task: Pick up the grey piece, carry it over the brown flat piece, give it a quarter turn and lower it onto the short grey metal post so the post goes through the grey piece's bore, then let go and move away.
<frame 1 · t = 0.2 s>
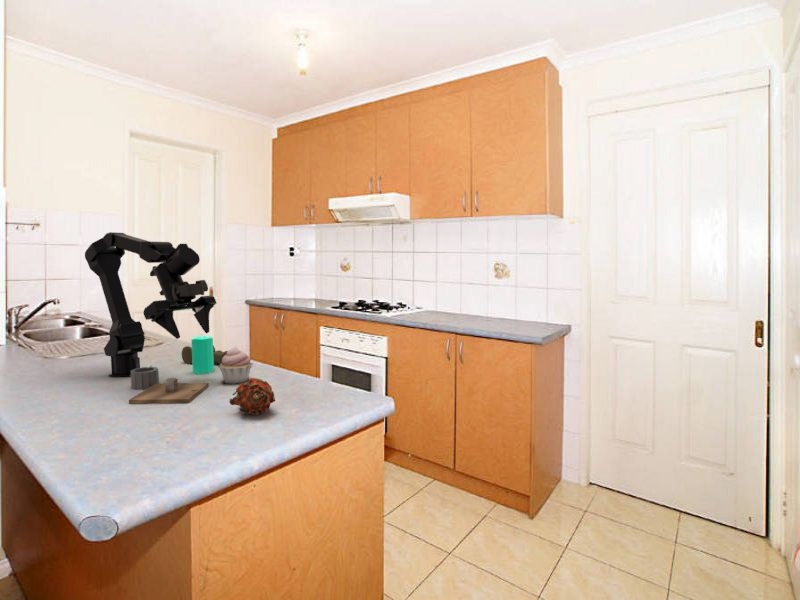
hand: (193, 335, 123), 14 cm above the countertop, tool tilted 30°, fingers open, 9 cm apart
grey piece: (145, 386, 125), on the countertop
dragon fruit: (253, 412, 106), on the countertop
brown flat piece: (171, 394, 118), on the countertop
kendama: (206, 363, 153), on the countertop
cupcake: (236, 381, 131), on the countertop
candle: (203, 372, 141), on the countertop
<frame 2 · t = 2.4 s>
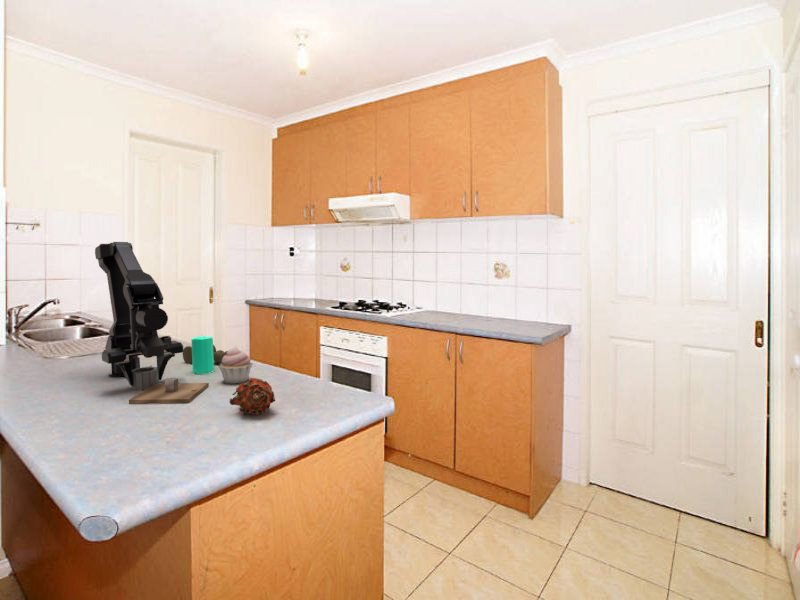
hand: (145, 382, 125), 1 cm above the countertop, tool pointing down, fingers closed on grey piece, 7 cm apart
grey piece: (145, 386, 125), on the countertop, touching gripper
everything else where it was.
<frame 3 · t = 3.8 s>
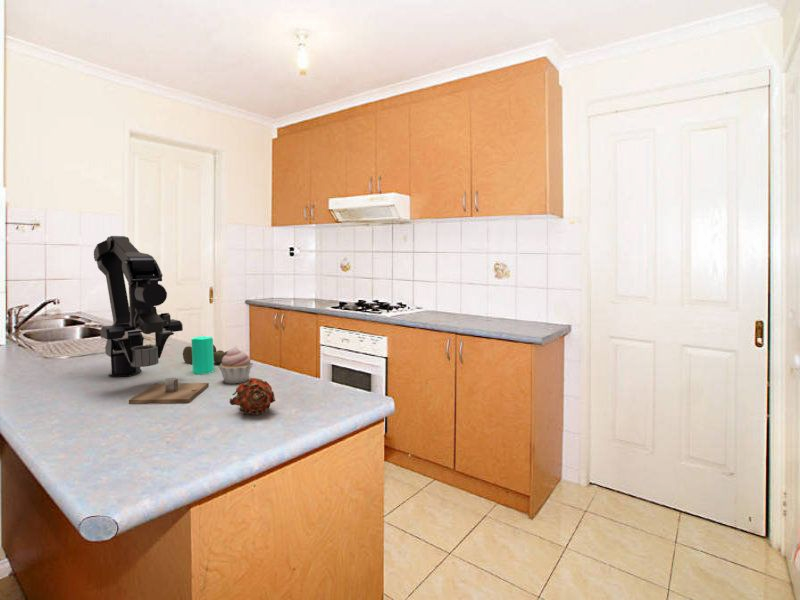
hand: (144, 360, 124), 7 cm above the countertop, tool pointing down, fingers closed on grey piece, 7 cm apart
grey piece: (144, 363, 125), point 6 cm above the countertop, touching gripper
everything else where it was.
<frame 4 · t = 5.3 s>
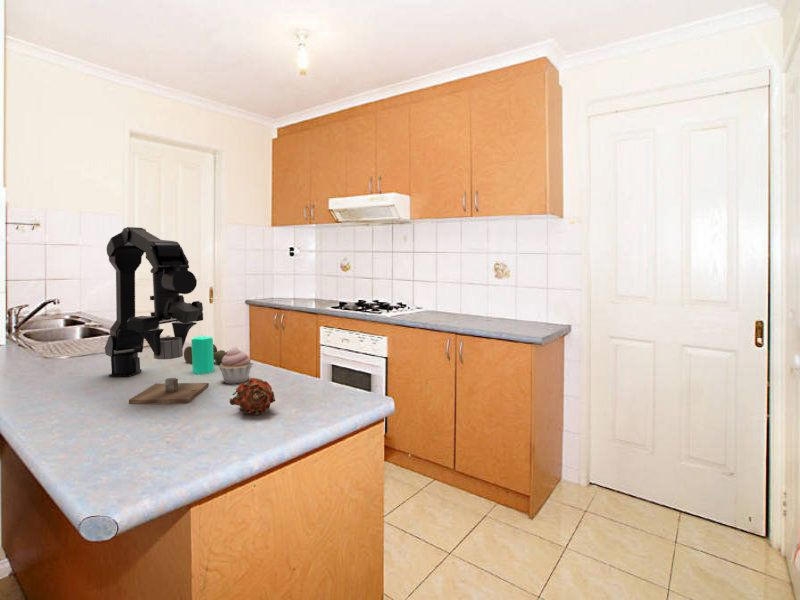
hand: (169, 352, 117), 11 cm above the countertop, tool pointing down, fingers closed on grey piece, 7 cm apart
grey piece: (168, 356, 117), point 10 cm above the countertop, touching gripper
everything else where it was.
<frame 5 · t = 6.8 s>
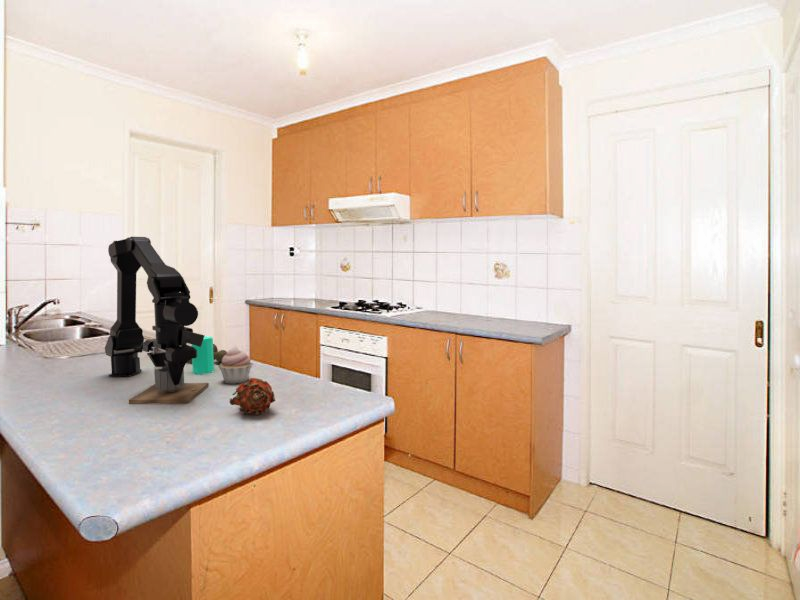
hand: (170, 382, 118), 3 cm above the countertop, tool pointing down, fingers closed on grey piece, 7 cm apart
grey piece: (169, 385, 118), point 2 cm above the countertop, touching gripper
everything else where it was.
when the fingers open (3 cm above the countertop, at t = 7.9 s): grey piece stays where it is, resting on brown flat piece.
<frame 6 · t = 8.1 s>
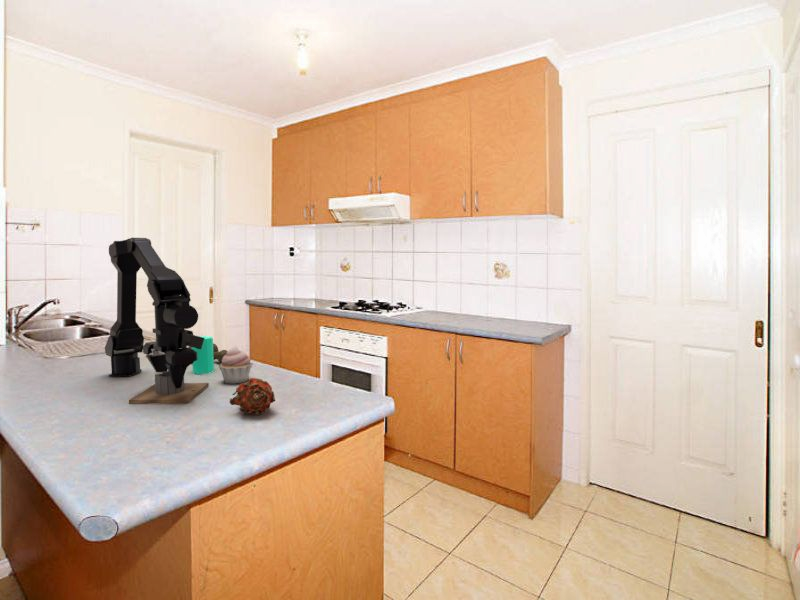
hand: (170, 384, 118), 3 cm above the countertop, tool pointing down, fingers open, 8 cm apart
grey piece: (170, 390, 118), point 1 cm above the countertop, touching brown flat piece
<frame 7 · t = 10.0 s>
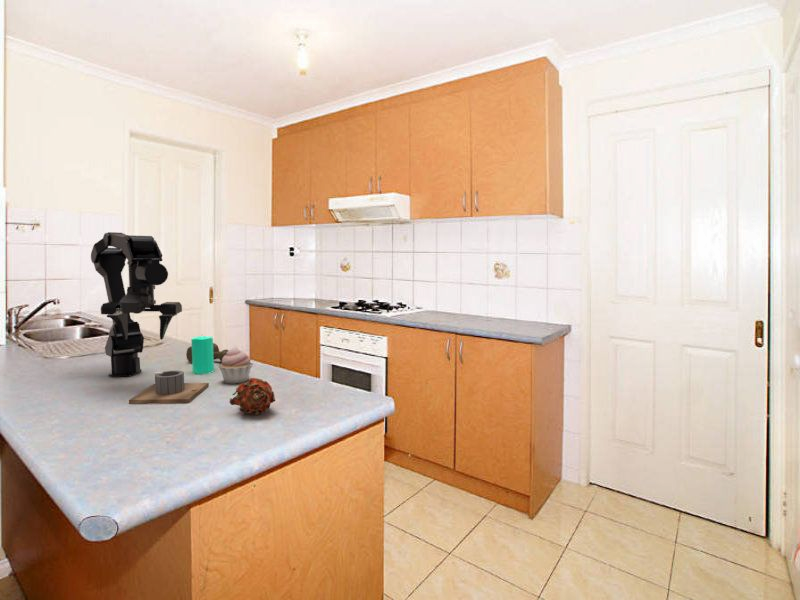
hand: (143, 339, 126), 13 cm above the countertop, tool pointing down, fingers open, 9 cm apart
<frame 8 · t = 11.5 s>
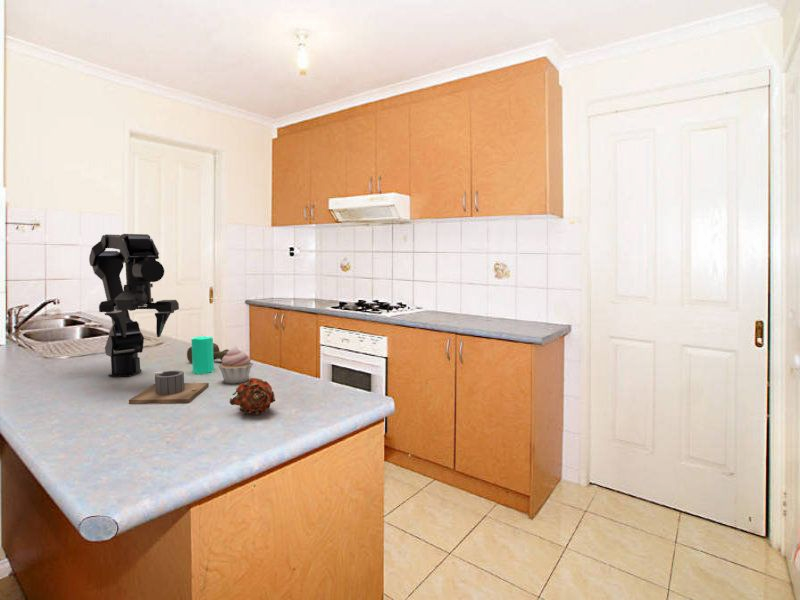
hand: (141, 337, 127), 13 cm above the countertop, tool pointing down, fingers open, 9 cm apart
at the end: grey piece 0.2 cm from the brown flat piece (horizontally); grey piece point 1.0 cm above the countertop; the gripper is holding nothing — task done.
